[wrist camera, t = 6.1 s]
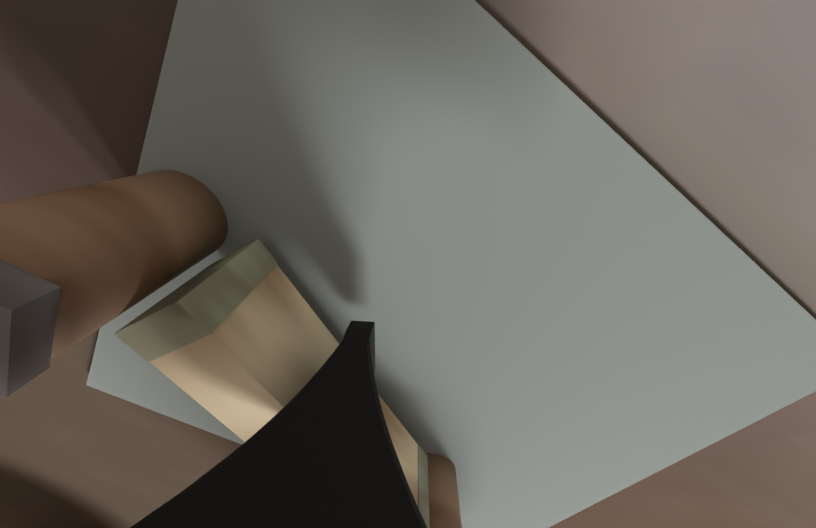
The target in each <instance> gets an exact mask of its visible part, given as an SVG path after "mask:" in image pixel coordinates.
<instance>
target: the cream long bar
mask: <svg viewBox="0 0 816 528" xmlns="http://www.w3.org/2000/svg"><path fill="white" fill-rule="evenodd" d="M277 264H278V263H277V262H276V260H275V259H274V258H273V256H272V255H271V254H270V253H269V251H268V250H267V249H266V247H265V246H264V245H263V244H262V242H261V241H260V240H259V239H258V240H256V241H254V242H252V243H250V244H248V245H246V246H244V247H242V248H241V249H239V250H237V251H235V252H233V253H231V254H229V255H227V256H225V257H224V258H222V259H220V260H218V261H216V262H214V263H212V264H211V265H209V266H208V267H206V268H205V269H204V270H202V271H201V272H199V273H198V274H197V275H195V276H194V277H192V278H191V279H190V280H188V281H187V282H185V283H184V284H183V285H181V286H180V287H178V288H177V289H176V290H174V291H173V292H171V293H170V294H169V295H167V296H166V297H164V298H163V299H162V300H160V301H159V302H157V303H156V304H155V305H153V306H152V307H150V308H149V309H148V310H146V311H145V312H143V313H142V314H141V315H139V316H138V317H136V318H135V319H134V320H132V321H131V322H129V323H128V324H127V325H125V326H124V327H122V328H121V329H120V330H118V331H117V332H115V333H114V335H116V336H117V337H118V338H119V339H120V340H122V341H123V342H124V343H125V344H126V345H128V346H129V347H130V348H131V349H132V350H134V351H135V352H136V353H137V354H138V355H140V356H141V357H142V358H143V359H144V360H146V361H147V362H150V363H151V364H152V365H154V366H155V367H156V368H157V369H158V370H160V371H161V372H162V373H163V374H164V375H166V376H167V377H168V378H169V379H170V380H171V381H173V382H174V383H175V384H176V385H177V386H179V387H180V388H181V389H182V390H183V391H185V392H186V393H187V394H188V395H189V396H191V397H192V398H193V399H194V400H195V401H196V402H198V403H199V404H200V405H201V406H202V407H204V408H205V409H206V410H207V411H208V412H210V413H211V414H212V415H213V416H214V417H216V418H217V419H218V420H219V421H220V422H221V423H223V424H224V425H225V426H226V427H227V428H229V429H230V430H231V431H232V432H233V433H235V434H236V435H237V436H238V437H239V438H241V439H242V440H243V441H244V442H246V441H247V440H248V439H249V438H250V437H252V436H253V435H254V434H255V433H256V432H257V431H258V430H259V429H261V428H262V427H263V426H264V425H265V424H266V423H267V422H268V421H270V420H271V419H272V418H273V417H274V416H275V415H276V414H277V413H278V412H279V411H280V410H281V409H282V408H283V407H284V406H285V405H287V404H288V403H289V402H290V401H291V400H292V399H293V397H294V396H295V395H296V394H297V393H298V392H299V391H300V390H301V389H302V388H303V387H304V386H305V385H306V384H307V383H308V381H309V380H310V379H311V378H312V377H313V376H314V375H315V374H316V372H317V371H318V370H319V369H320V368H321V367H322V366H323V364H324V363H325V362H326V361H327V359H328V358H329V357H330V356H331V354H332V353H333V352H334V351H335V349H336V348H337V347H338V345H339V343H338V342H337V341H336V339H335V338H334V337H333V335H332V334H331V333H330V332H329V330H328V329H327V328H326V326H325V325H324V324H323V323H322V321H321V320H320V319H319V317H318V316H317V315H316V314H315V312H314V311H313V310H312V309H311V307H310V306H309V305H308V303H307V302H306V301H305V300H304V298H303V297H302V296H301V294H300V293H299V292H298V291H297V289H296V288H295V287H294V285H293V284H292V283H291V282H290V280H289V279H288V278H287V276H286V275H285V274H284V273H283V271H282V270H281V269H280V268H279V266H278V265H277ZM378 396H379V394H378ZM379 399H380V403H381V407H382V411H383V414H384V418H385V421H386V424H387V427H388V431H389V434H390V437H391V440H392V443H393V446H394V448H395V451H396V454H397V456H398V459H399V461H400V464H401V467H402V469H403V472H404V475H405V477H406V480H407V482H408V485H409V487H410V490H411V492H412V494H413V497H414V499H415V501H416V504H417V506H418V508H419V511H420V513H421V515H422V517H423V520H424V522H425V524H426V526H427V528H430V520H429V489H428V458H427V454H426V453H425V452H424V451H423V449H422V448H421V447H420V445H419V444H417V443H416V442H415V440H414V439H413V438H412V437H411V435H410V434H409V433H408V431H407V430H406V429H405V428H404V426H403V425H402V424H401V422H400V421H399V420H398V419H397V417H396V416H395V415H394V414H393V412H392V411H391V410H390V408H389V407H388V406H387V405H386V403H385V402H384V401H383V399H382V398H381V397H380V396H379Z"/></svg>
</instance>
